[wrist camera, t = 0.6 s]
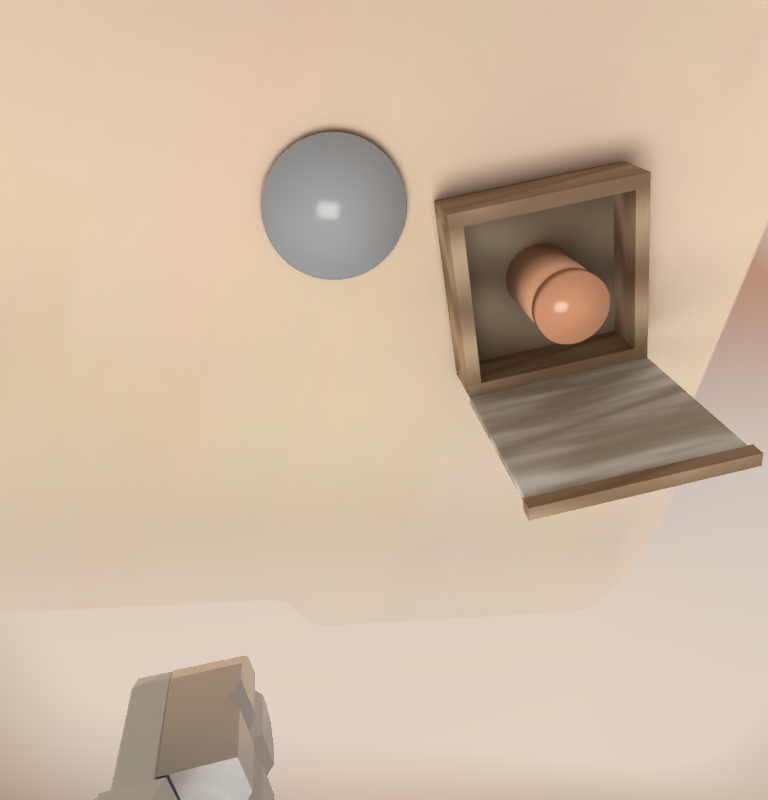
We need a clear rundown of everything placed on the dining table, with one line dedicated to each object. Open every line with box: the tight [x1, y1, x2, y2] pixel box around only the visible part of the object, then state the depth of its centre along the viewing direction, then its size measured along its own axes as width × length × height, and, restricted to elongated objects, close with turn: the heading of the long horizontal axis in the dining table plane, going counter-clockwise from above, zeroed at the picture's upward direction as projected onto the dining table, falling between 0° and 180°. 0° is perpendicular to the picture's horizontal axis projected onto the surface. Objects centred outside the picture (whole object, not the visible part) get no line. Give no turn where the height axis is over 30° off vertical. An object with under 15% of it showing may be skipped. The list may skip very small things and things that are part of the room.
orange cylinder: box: [506, 244, 610, 344], centre depth 50 cm, size 5×5×7 cm
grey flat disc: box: [261, 132, 407, 280], centre depth 49 cm, size 10×10×1 cm
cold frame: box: [434, 162, 763, 520], centre depth 46 cm, size 15×14×18 cm
